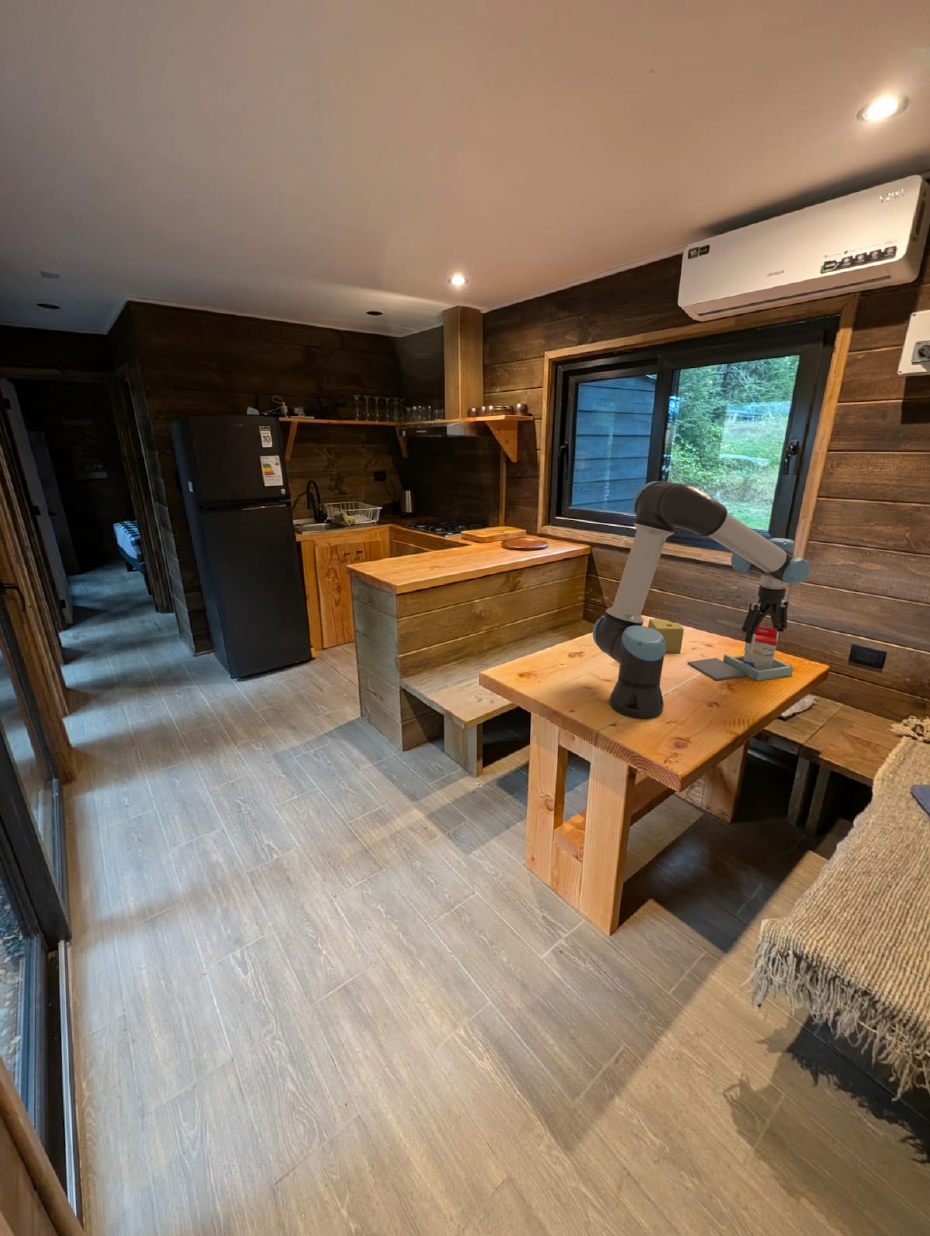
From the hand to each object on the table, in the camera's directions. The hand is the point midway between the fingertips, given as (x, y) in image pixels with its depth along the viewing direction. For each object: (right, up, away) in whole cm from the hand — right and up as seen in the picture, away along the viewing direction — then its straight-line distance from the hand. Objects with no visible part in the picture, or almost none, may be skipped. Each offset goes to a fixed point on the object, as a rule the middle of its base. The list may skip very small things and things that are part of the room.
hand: (759, 649), depth 171 cm
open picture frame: (0, -7, +2) cm, 7 cm away
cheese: (-25, -1, +20) cm, 32 cm away
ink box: (0, -7, +2) cm, 7 cm away
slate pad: (-14, -7, +2) cm, 16 cm away
